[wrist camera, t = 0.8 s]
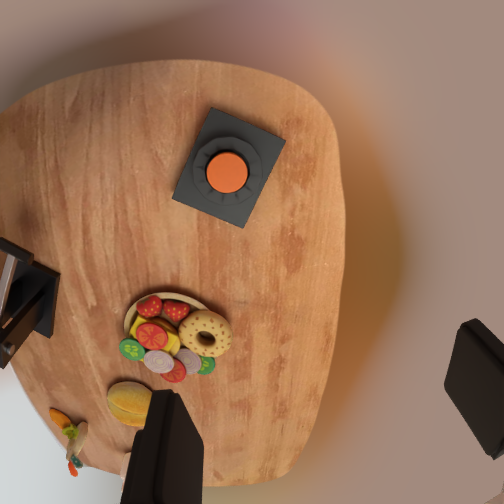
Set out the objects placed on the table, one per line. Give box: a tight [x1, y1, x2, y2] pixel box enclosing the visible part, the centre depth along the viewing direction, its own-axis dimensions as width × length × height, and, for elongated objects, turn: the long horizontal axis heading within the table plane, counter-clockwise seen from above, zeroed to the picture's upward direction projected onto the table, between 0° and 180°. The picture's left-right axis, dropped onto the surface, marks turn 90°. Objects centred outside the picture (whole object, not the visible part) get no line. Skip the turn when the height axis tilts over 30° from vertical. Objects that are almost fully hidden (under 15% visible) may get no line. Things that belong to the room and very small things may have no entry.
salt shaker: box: [120, 452, 131, 492], centre depth 47 cm, size 4×4×10 cm
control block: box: [172, 108, 286, 229], centre depth 31 cm, size 10×8×4 cm
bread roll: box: [107, 381, 152, 426], centre depth 43 cm, size 8×9×4 cm
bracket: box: [0, 260, 60, 369], centre depth 31 cm, size 11×8×13 cm
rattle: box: [49, 409, 88, 477], centre depth 42 cm, size 8×8×12 cm
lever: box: [0, 237, 34, 333], centre depth 27 cm, size 13×5×2 cm, turn 156°
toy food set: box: [119, 292, 233, 383], centre depth 39 cm, size 13×13×3 cm
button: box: [207, 152, 247, 193], centre depth 29 cm, size 4×4×2 cm
